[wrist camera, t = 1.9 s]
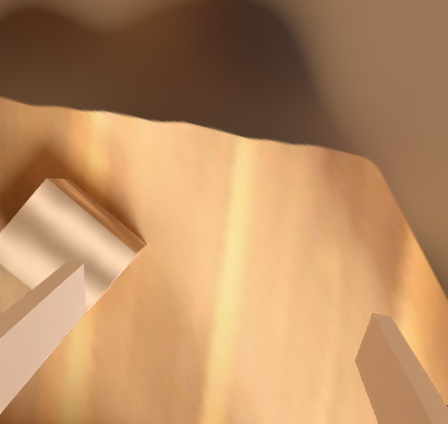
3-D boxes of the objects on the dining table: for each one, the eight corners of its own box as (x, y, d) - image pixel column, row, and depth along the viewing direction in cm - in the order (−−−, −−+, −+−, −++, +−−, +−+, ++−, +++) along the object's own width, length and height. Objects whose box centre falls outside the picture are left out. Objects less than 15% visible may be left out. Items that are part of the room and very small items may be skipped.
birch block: (94, 304, 43) (73, 324, 37) (18, 242, 42) (-16, 251, 36) (147, 244, 42) (135, 253, 36) (71, 179, 41) (46, 178, 35)
